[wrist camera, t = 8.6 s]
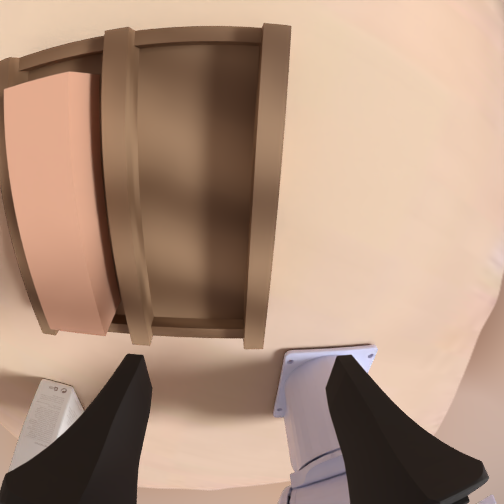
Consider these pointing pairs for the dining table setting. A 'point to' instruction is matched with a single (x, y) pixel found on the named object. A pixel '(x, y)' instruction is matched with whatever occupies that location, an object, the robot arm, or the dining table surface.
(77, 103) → the clay strip
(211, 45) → the rack
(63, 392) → the skincare box
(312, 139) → the dining table surface
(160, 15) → the dining table surface
